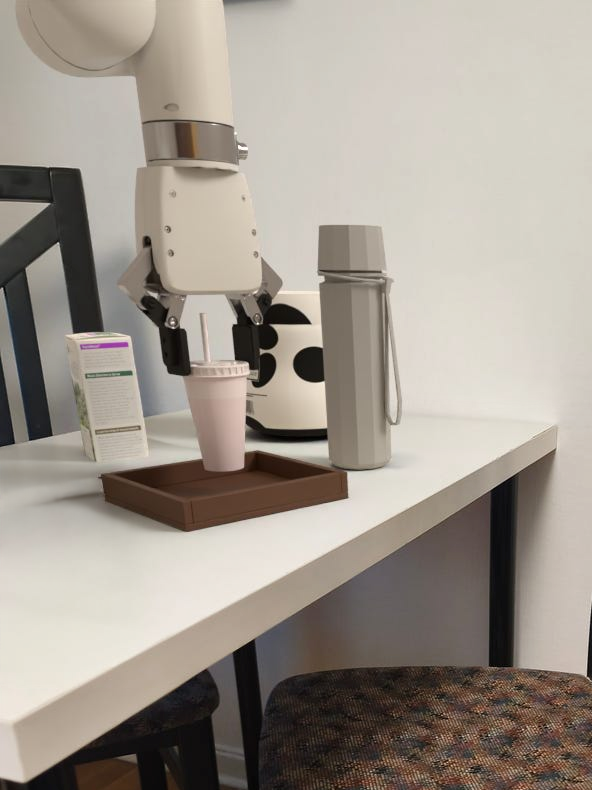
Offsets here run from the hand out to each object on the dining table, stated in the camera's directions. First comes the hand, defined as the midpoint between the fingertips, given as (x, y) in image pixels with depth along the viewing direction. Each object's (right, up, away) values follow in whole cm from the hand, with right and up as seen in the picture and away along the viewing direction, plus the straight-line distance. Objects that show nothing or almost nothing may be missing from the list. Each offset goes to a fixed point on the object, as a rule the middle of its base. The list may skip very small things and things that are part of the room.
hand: (214, 370), depth 82 cm
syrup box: (-15, -7, +16) cm, 23 cm away
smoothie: (0, -9, +4) cm, 9 cm away
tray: (0, -11, +5) cm, 12 cm away
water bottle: (+12, -5, +20) cm, 24 cm away
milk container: (+1, +3, +40) cm, 40 cm away
